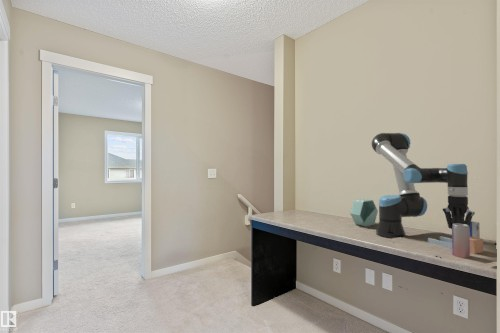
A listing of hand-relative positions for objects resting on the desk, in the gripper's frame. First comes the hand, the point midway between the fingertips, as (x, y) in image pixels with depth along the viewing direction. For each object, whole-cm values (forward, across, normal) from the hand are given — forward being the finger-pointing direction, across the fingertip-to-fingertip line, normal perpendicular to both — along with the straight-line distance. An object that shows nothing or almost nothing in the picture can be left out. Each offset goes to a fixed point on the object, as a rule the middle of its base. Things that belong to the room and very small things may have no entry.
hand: (458, 244), depth 122 cm
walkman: (+3, -6, +17) cm, 18 cm away
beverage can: (+3, +8, -11) cm, 14 cm away
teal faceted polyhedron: (+3, -60, -1) cm, 60 cm away
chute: (+3, -4, 0) cm, 5 cm away
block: (+2, +5, 0) cm, 5 cm away
